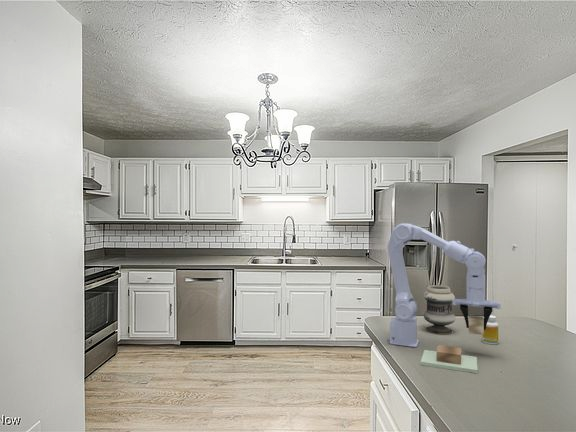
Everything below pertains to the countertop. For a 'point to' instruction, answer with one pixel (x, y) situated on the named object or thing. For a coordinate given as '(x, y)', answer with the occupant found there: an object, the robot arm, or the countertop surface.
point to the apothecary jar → (439, 309)
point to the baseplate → (466, 363)
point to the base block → (449, 354)
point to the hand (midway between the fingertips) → (475, 328)
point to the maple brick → (476, 325)
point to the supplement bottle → (491, 331)
